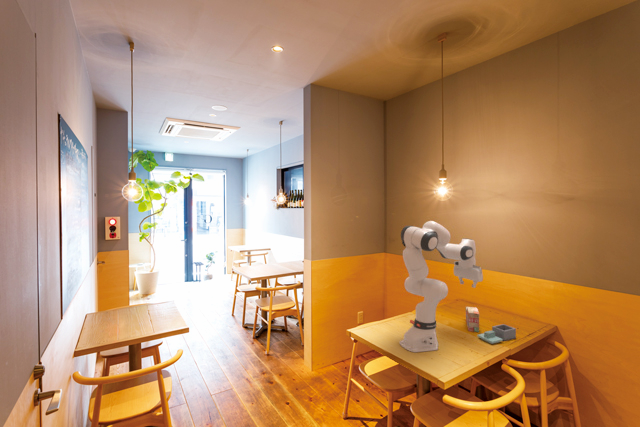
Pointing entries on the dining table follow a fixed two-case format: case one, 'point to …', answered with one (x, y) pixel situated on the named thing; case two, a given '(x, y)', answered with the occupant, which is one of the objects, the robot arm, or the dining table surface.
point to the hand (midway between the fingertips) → (467, 285)
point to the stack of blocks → (472, 319)
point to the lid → (490, 337)
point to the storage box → (504, 332)
